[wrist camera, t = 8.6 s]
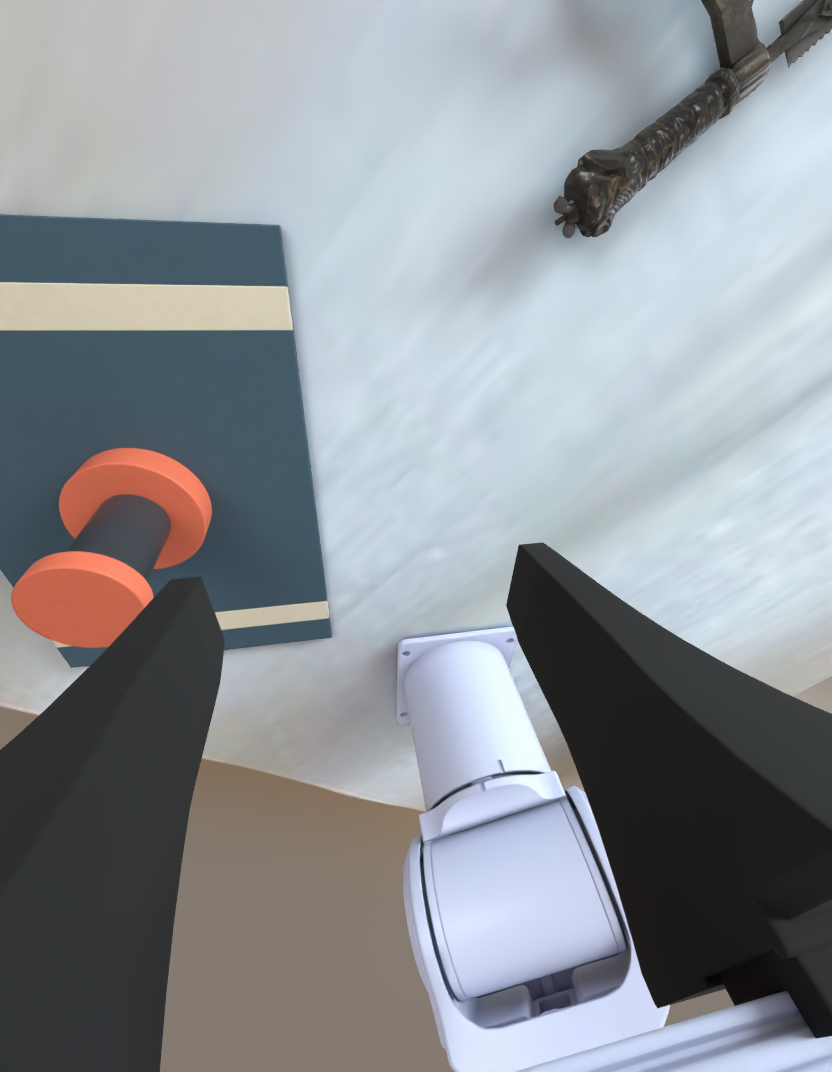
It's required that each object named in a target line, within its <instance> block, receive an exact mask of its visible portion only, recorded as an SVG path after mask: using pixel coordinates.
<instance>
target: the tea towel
mask: <svg viewBox="0 0 832 1072" xmlns="http://www.w3.org/2000/svg"><path fill="white" fill-rule="evenodd" d="M117 448H138V449H145V450H150V451H154V452H157V453H160V454H163V455H165V456H167V457H170V458H172V459H174V460H175V461H177V462H179V463H181V464H182V465H183V466H185V467H186V468H188V469H189V470H190V471H191V472H192V473H193V474H194V475H195V476H196V477H197V478H198V479H199V480H200V481H201V483H202V484H203V486H204V487H205V489H206V491H207V493H208V495H209V498H210V501H211V505H212V516H211V521H210V524H209V527H208V530H207V533H206V535H205V538H204V541H203V543H202V545H201V547H200V548H199V549H198V551H197V552H196V553H195V554H194V555H193V556H191V557H190V558H188V559H187V560H185V561H183V562H181V563H179V564H177V565H174V566H171V567H166V568H160V569H153V571H152V573H151V575H150V577H149V579H148V581H147V582H148V584H149V586H150V587H151V589H152V592H153V597H155V596H156V595H157V594H158V592H159V591H160V590H161V589H162V588H163V587H164V586H165V585H166V584H167V583H168V582H169V581H170V580H171V579H178V578H188V577H199V576H201V577H202V580H203V582H204V585H205V588H206V590H207V593H208V596H209V598H210V601H211V604H212V606H213V609H214V612H215V614H216V617H217V620H218V622H219V625H220V628H221V630H222V633H223V636H224V638H225V643H224V650H228V649H237V648H245V647H254V646H263V645H271V644H280V643H289V642H297V641H306V640H315V639H323V638H331V637H332V634H331V626H330V618H329V610H328V602H327V594H326V586H325V578H324V570H323V562H322V554H321V546H320V538H319V530H318V522H317V514H316V506H315V498H314V490H313V482H312V474H311V466H310V458H309V450H308V442H307V434H306V426H305V418H304V410H303V403H302V395H301V387H300V379H299V371H298V363H297V355H296V347H295V339H294V331H293V323H292V315H291V307H290V299H289V291H288V283H287V275H286V267H285V259H284V251H283V243H282V235H281V227H280V225H262V224H235V223H209V222H182V221H156V220H130V219H103V218H77V217H50V216H24V215H0V569H1V571H2V572H3V574H4V575H5V576H6V578H7V579H8V580H9V582H10V583H11V585H12V586H13V587H15V585H16V583H17V582H18V581H19V580H20V578H21V577H22V576H23V575H24V574H25V572H26V571H27V570H28V569H29V568H30V566H31V565H32V564H34V563H35V562H36V561H38V560H40V559H42V558H43V557H46V556H49V555H52V554H56V553H60V552H66V550H67V549H68V548H69V546H70V545H71V544H72V542H73V541H74V540H75V539H74V537H73V536H72V535H71V534H70V533H69V531H68V530H67V528H66V527H65V525H64V523H63V520H62V518H61V514H60V510H59V498H60V494H61V491H62V489H63V487H64V485H65V483H66V482H67V481H68V480H69V479H70V478H71V477H72V475H73V474H74V473H75V472H76V471H77V470H78V469H79V468H80V467H81V466H82V465H83V464H84V463H85V462H86V461H87V460H88V459H90V458H91V457H93V456H95V455H96V454H98V453H101V452H104V451H107V450H111V449H117ZM51 641H52V642H53V643H54V645H55V646H56V647H57V648H58V650H59V651H60V653H61V654H62V655H63V657H64V658H65V660H66V661H67V662H68V664H69V665H70V667H71V668H72V667H81V666H90V665H92V664H93V663H94V662H95V661H96V660H97V658H98V657H99V656H100V655H101V654H102V653H103V652H104V651H105V650H106V649H107V648H108V647H102V648H86V647H77V646H71V645H66V644H63V643H59V642H56V641H53V640H51Z"/></svg>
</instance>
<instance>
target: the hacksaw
mask: <svg viewBox="0 0 832 1072" xmlns="http://www.w3.org/2000/svg"><path fill="white" fill-rule="evenodd" d="M701 1H702V3H703V4H704V6H705V8H706V10H707V12H708V14H709V15H710V18H711V23H712V28H713V33H714V38H715V43H716V47H717V52H718V57H719V62H720V67H721V68H720V69H719V70H717V71H716V72H715V73H713V74H712V75H711V76H710V77H709V78H708V79H707V80H706V82H705V84H704V85H702V86H701V87H699V88H697V89H696V90H695V91H694V92H693V93H692V94H690V95H688V96H687V97H686V98H685V99H684V100H682V101H681V102H680V103H679V104H678V105H676V106H675V107H673V108H672V109H670V110H669V111H668V112H667V113H666V114H665V115H663V116H662V117H660V118H658V119H657V121H656V122H655V123H653V124H652V125H650V126H648V127H647V128H645V129H644V130H643V131H641V132H640V133H639V134H638V135H637V136H636V137H635V138H634V139H633V140H632V141H630V142H629V143H627V144H626V145H624V146H623V147H621V148H618V149H614V150H591V151H589V152H587V153H586V154H584V155H583V156H582V157H581V158H580V159H579V161H578V167H577V168H575V169H573V170H572V171H571V172H570V174H569V175H568V177H567V179H566V181H565V185H564V197H561V196H559V197H558V199H557V200H556V202H555V203H554V209H555V212H557V213H560V214H562V213H563V216H562V217H560V218H559V219H557V220H556V221H555V225H556V226H558V225H559V224H561V223H562V222H564V221H565V222H566V224H565V225H564V227H563V235H564V236H565V237H566V238H570V237H571V236H572V235H573V234H574V232H575V225H574V223H575V224H576V225H577V226H578V227H579V229H580V232H581V234H582V235H583V236H586V237H590V236H592V237H597V236H599V235H601V234H603V233H605V232H607V231H608V230H609V228H610V226H611V223H612V220H613V218H614V216H615V214H616V213H617V211H618V210H619V209H621V208H622V207H623V206H624V205H625V204H626V203H628V202H629V201H630V200H631V198H632V197H633V196H634V195H635V194H636V193H637V192H638V191H640V190H641V189H642V188H643V187H644V186H645V185H646V183H647V182H648V181H650V180H652V179H653V178H655V177H656V175H657V173H659V172H660V171H661V170H662V169H664V168H665V167H666V166H667V165H668V164H669V163H670V162H671V161H672V160H673V159H674V158H675V157H677V156H678V155H679V154H680V153H681V152H682V151H683V150H684V149H685V148H686V147H688V146H689V145H690V144H692V143H693V142H694V141H695V140H696V139H697V138H698V137H699V136H700V135H701V134H702V133H704V132H705V131H706V130H707V129H708V128H710V127H711V126H712V125H713V124H714V123H716V121H717V120H718V119H721V118H723V117H725V116H726V115H728V114H729V113H730V112H731V110H732V108H733V107H734V105H736V104H737V103H738V102H740V101H741V100H742V99H744V98H745V97H746V96H748V95H749V94H750V93H751V92H753V91H754V90H755V89H756V88H757V87H758V86H759V85H760V84H761V83H762V82H763V81H764V79H765V78H766V76H767V74H768V71H769V68H770V63H772V62H773V61H774V60H775V59H776V58H777V57H778V56H780V55H781V54H782V53H783V52H784V51H785V54H786V58H787V63H788V68H789V66H790V64H791V63H794V62H796V60H797V58H798V57H802V55H803V54H804V52H805V51H809V49H810V47H811V45H815V44H816V43H817V41H818V39H822V38H823V36H824V35H825V33H829V32H830V30H831V29H832V0H803V1H802V2H801V3H800V4H799V5H798V6H796V7H795V8H794V9H793V10H792V11H791V12H790V13H789V14H788V15H786V16H785V17H784V18H783V19H782V20H781V21H780V22H779V25H780V30H781V35H780V36H779V37H778V38H777V39H776V40H775V41H774V42H773V43H772V44H771V45H769V46H768V47H767V48H765V46H764V45H763V44H762V43H761V42H759V40H758V38H757V29H756V24H755V19H754V16H753V12H752V8H751V7H752V4H753V1H754V0H701Z"/></svg>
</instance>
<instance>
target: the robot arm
mask: <svg viewBox="0 0 832 1072" xmlns="http://www.w3.org/2000/svg"><path fill="white" fill-rule="evenodd" d="M506 606H507V609H508V612H509V615H510V618H511V621H512V624H513V627H503V628H495V629H486V630H478V631H470V632H461V633H453V634H444V635H436V636H428V637H419V638H411V639H404V640H401V641H400V642H399V643H398V647H397V723H398V724H399V725H408V724H411V728H412V734H413V739H414V745H415V750H416V756H417V761H418V767H419V773H420V778H421V784H422V789H423V795H424V801H425V806H426V812H425V813H423V814H420V815H419V821H420V827H421V833H422V835H421V836H418V837H415V838H414V839H413V840H412V841H411V844H410V846H409V851H408V853H407V855H406V857H405V861H404V867H403V890H404V902H405V910H406V917H407V923H408V929H409V934H410V939H411V944H412V948H413V953H414V956H415V960H416V963H417V966H418V969H419V973H420V976H421V978H422V981H423V983H424V985H425V987H426V989H427V991H428V994H429V998H430V1001H431V1005H432V1008H433V1012H434V1016H435V1020H436V1024H437V1028H438V1032H439V1037H440V1041H441V1044H442V1046H443V1048H444V1049H445V1050H446V1051H447V1056H448V1061H449V1064H450V1066H451V1068H452V1069H453V1070H454V1071H455V1072H832V714H831V713H828V712H826V711H824V710H821V709H819V708H816V707H814V706H812V705H809V704H808V703H805V702H803V701H801V700H799V699H796V698H794V697H792V696H790V695H788V694H786V693H783V692H781V691H779V690H777V689H775V688H773V687H771V686H769V685H767V684H765V683H763V682H761V681H759V680H757V679H755V678H753V677H751V676H749V675H747V674H745V673H743V672H741V671H739V670H737V669H735V668H733V667H731V666H729V665H727V664H725V663H724V662H722V661H720V660H718V659H716V658H714V657H713V656H711V655H709V654H707V653H706V652H704V651H702V650H700V649H698V648H697V647H695V646H693V645H691V644H690V643H688V642H686V641H684V640H683V639H681V638H679V637H678V636H676V635H674V634H673V633H671V632H669V631H668V630H666V629H665V628H663V627H662V626H660V625H658V624H657V623H655V622H654V621H652V620H651V619H649V618H648V617H646V616H645V615H643V614H642V613H640V612H638V611H637V610H635V609H634V608H633V607H631V606H630V605H628V604H627V603H625V602H624V601H622V600H621V599H620V598H618V597H617V596H615V595H614V594H612V593H611V592H610V591H608V590H607V589H606V588H604V587H603V586H601V585H600V584H599V583H597V582H596V581H595V580H593V579H592V578H590V577H589V576H588V575H586V574H585V573H584V572H582V571H581V570H580V569H578V568H577V567H576V566H574V565H573V564H572V563H570V562H569V561H568V560H566V559H565V558H564V557H562V556H561V555H560V554H558V553H557V552H556V551H554V550H553V549H551V548H550V547H548V546H547V545H546V544H544V543H534V544H524V545H519V547H518V552H517V556H516V561H515V566H514V571H513V576H512V580H511V585H510V590H509V595H508V600H507V604H506ZM517 639H518V642H519V644H520V646H521V648H522V650H523V652H524V655H525V657H526V659H527V661H528V663H529V665H530V667H531V669H532V671H533V673H534V675H535V677H536V679H537V681H538V683H539V685H540V687H541V690H542V692H543V694H544V696H545V698H546V700H547V702H548V704H549V706H550V708H551V710H552V712H553V714H554V716H555V718H556V720H557V722H558V724H559V726H560V729H561V731H562V733H563V735H564V738H565V740H566V742H567V745H568V747H569V750H570V753H571V755H572V758H573V761H574V763H575V766H576V769H577V771H578V774H579V777H580V779H581V782H582V785H583V787H584V790H585V793H584V792H583V791H580V790H579V788H577V787H576V786H571V787H569V788H566V789H565V792H564V789H563V787H562V785H561V782H560V780H559V778H558V775H557V773H556V771H551V769H550V767H549V764H548V762H547V760H546V757H545V755H544V752H543V750H542V748H541V745H540V743H539V740H538V738H537V736H536V733H535V731H534V728H533V726H532V724H531V721H530V719H529V716H528V714H527V712H526V709H525V707H524V704H523V702H522V700H521V697H520V695H519V692H518V690H517V688H516V685H515V683H514V680H513V678H512V676H511V673H510V671H509V667H510V663H511V659H512V656H513V652H514V648H515V644H516V641H517ZM224 643H225V638H224V636H223V633H222V630H221V628H220V625H219V622H218V620H217V617H216V614H215V612H214V609H213V606H212V604H211V601H210V598H209V596H208V593H207V590H206V588H205V585H204V582H203V580H202V577H201V576H199V577H188V578H178V579H171V580H170V581H169V582H168V583H167V584H166V585H165V586H164V587H163V588H162V589H161V590H160V591H159V592H158V594H157V595H156V596H155V597H154V598H153V599H152V600H151V601H150V602H149V603H148V605H147V606H146V607H145V608H144V609H143V610H142V611H141V612H140V613H139V614H138V616H137V617H136V618H135V619H134V620H133V621H132V622H131V623H130V624H129V625H128V626H127V628H126V629H125V630H124V631H123V632H122V633H121V634H120V635H119V636H118V637H117V638H116V639H115V640H114V642H113V643H112V644H111V645H110V646H109V647H108V648H107V649H106V650H105V651H104V652H103V653H102V654H101V655H100V656H99V657H98V658H97V660H96V661H95V662H94V663H93V664H92V665H91V666H90V667H89V668H88V669H87V670H86V671H85V672H84V673H83V674H82V675H80V676H79V677H78V678H77V679H76V680H75V681H74V682H73V683H72V684H71V685H70V686H69V687H68V688H67V689H66V690H65V691H64V692H63V693H62V694H61V695H60V696H59V697H58V698H57V699H56V700H55V701H54V702H53V703H52V704H51V705H50V706H49V707H48V708H47V709H46V710H45V711H44V712H43V713H41V714H40V715H39V716H38V717H37V718H36V719H35V720H34V721H33V722H32V723H31V724H29V725H28V726H27V727H26V728H25V729H24V730H23V731H22V732H21V733H19V734H18V735H17V736H16V737H15V738H14V739H13V740H12V741H10V742H9V743H8V744H7V745H6V746H5V747H3V748H2V749H1V750H0V1072H160V1061H161V1049H162V1038H163V1025H164V1013H165V1002H166V991H167V982H168V972H169V963H170V954H171V944H172V935H173V926H174V918H175V909H176V902H177V894H178V887H179V879H180V871H181V863H182V857H183V850H184V843H185V837H186V830H187V823H188V816H189V810H190V805H191V800H192V796H193V791H194V786H195V782H196V778H197V774H198V770H199V766H200V762H201V758H202V754H203V750H204V746H205V742H206V738H207V734H208V730H209V726H210V722H211V718H212V714H213V710H214V706H215V702H216V697H217V693H218V689H219V685H220V679H221V671H222V663H223V653H224ZM723 989H726V990H727V992H728V994H729V996H730V997H731V999H732V1001H733V1003H734V1005H735V1006H733V1007H730V1008H726V1009H723V1010H720V1011H717V1012H713V1013H710V1014H706V1015H703V1016H700V1017H697V1018H693V1019H690V1020H686V1021H683V1022H679V1023H677V1024H673V1025H670V1026H666V1027H664V1024H665V1021H666V1018H667V1015H668V1012H669V1008H670V1005H671V1004H675V1003H678V1002H682V1001H685V1000H689V999H692V998H696V997H699V996H702V995H705V994H709V993H713V992H716V991H720V990H723Z"/></svg>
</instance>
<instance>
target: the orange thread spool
mask: <svg viewBox="0 0 832 1072" xmlns="http://www.w3.org/2000/svg"><path fill="white" fill-rule="evenodd" d="M59 510H60V514H61V518H62V520H63V523H64V525H65V527H66V528H67V530H68V531H69V533H70V534H71V535H72V536H73V537H74V539H75V540H74V541H73V542H72V544H71V545H70V546H69V548H68V549H67V550H66V552H60V553H56V554H52V555H49V556H46V557H43V558H42V559H40V560H38V561H36V562H35V563H34V564H32V565H31V566H30V568H29V569H28V570H27V571H26V572H25V574H24V575H23V576H22V577H21V578H20V580H19V581H18V582H17V583H16V585H15V587H14V588H13V591H12V599H11V601H12V606H13V609H14V611H15V613H16V614H17V616H18V617H19V618H20V620H21V621H22V622H23V623H24V624H25V625H27V626H28V627H29V628H30V629H32V630H33V631H35V632H36V633H38V634H40V635H42V636H44V637H46V638H48V639H51V640H53V641H56V642H59V643H63V644H66V645H71V646H77V647H86V648H102V647H109V646H110V645H111V644H112V643H113V642H114V640H115V639H116V638H117V637H118V636H119V635H120V634H121V633H122V632H123V631H124V630H125V629H126V628H127V626H128V625H129V624H130V623H131V622H132V621H133V620H134V619H135V618H136V617H137V616H138V614H139V613H140V612H141V611H142V610H143V609H144V608H145V607H146V606H147V605H148V603H149V602H150V601H151V600H152V599H153V598H154V597H153V592H152V589H151V587H150V586H149V584H148V582H147V581H148V579H149V577H150V575H151V573H152V571H153V569H160V568H166V567H171V566H174V565H177V564H179V563H181V562H183V561H185V560H187V559H188V558H190V557H191V556H193V555H194V554H195V553H196V552H197V551H198V549H199V548H200V547H201V545H202V543H203V541H204V538H205V535H206V533H207V530H208V527H209V524H210V521H211V516H212V505H211V501H210V498H209V495H208V493H207V491H206V489H205V487H204V486H203V484H202V483H201V481H200V480H199V479H198V478H197V477H196V476H195V475H194V474H193V473H192V472H191V471H190V470H189V469H188V468H186V467H185V466H183V465H182V464H181V463H179V462H177V461H175V460H174V459H172V458H170V457H167V456H165V455H163V454H160V453H157V452H154V451H150V450H145V449H138V448H117V449H111V450H107V451H104V452H101V453H98V454H96V455H95V456H93V457H91V458H90V459H88V460H87V461H86V462H85V463H84V464H83V465H82V466H81V467H80V468H79V469H78V470H77V471H76V472H75V473H74V474H73V475H72V477H71V478H70V479H69V480H68V481H67V482H66V483H65V485H64V487H63V489H62V491H61V494H60V498H59Z"/></svg>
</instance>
